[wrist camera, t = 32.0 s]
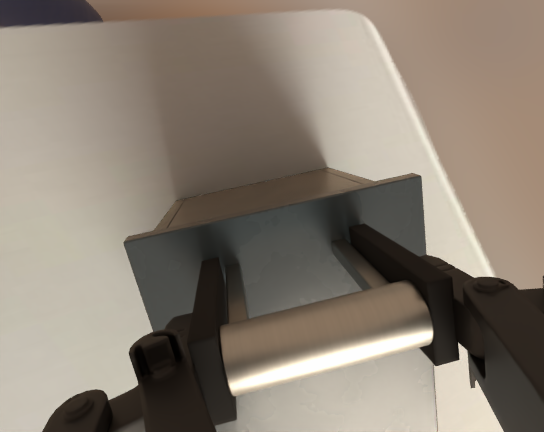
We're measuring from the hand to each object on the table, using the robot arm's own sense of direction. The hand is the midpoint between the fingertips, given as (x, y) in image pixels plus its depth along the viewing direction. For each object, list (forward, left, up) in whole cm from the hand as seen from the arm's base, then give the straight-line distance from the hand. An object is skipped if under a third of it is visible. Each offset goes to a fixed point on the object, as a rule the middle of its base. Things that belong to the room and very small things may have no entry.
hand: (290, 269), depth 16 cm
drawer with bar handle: (+5, 0, -2) cm, 6 cm away
